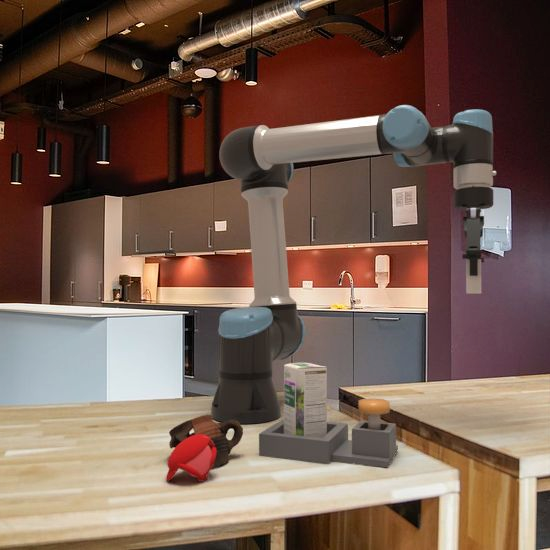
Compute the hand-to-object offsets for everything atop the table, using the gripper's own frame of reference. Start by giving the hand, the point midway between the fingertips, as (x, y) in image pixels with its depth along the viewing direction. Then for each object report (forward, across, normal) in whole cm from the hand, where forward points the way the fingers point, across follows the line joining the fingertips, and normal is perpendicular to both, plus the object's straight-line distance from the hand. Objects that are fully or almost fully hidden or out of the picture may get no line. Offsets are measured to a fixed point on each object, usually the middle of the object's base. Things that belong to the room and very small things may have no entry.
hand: (474, 293), depth 106 cm
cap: (+27, -46, +39) cm, 65 cm away
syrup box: (+27, -27, +27) cm, 47 cm away
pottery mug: (+27, -38, +40) cm, 61 cm away
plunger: (+23, -27, +15) cm, 39 cm away
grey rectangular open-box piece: (+27, -27, +23) cm, 44 cm away
